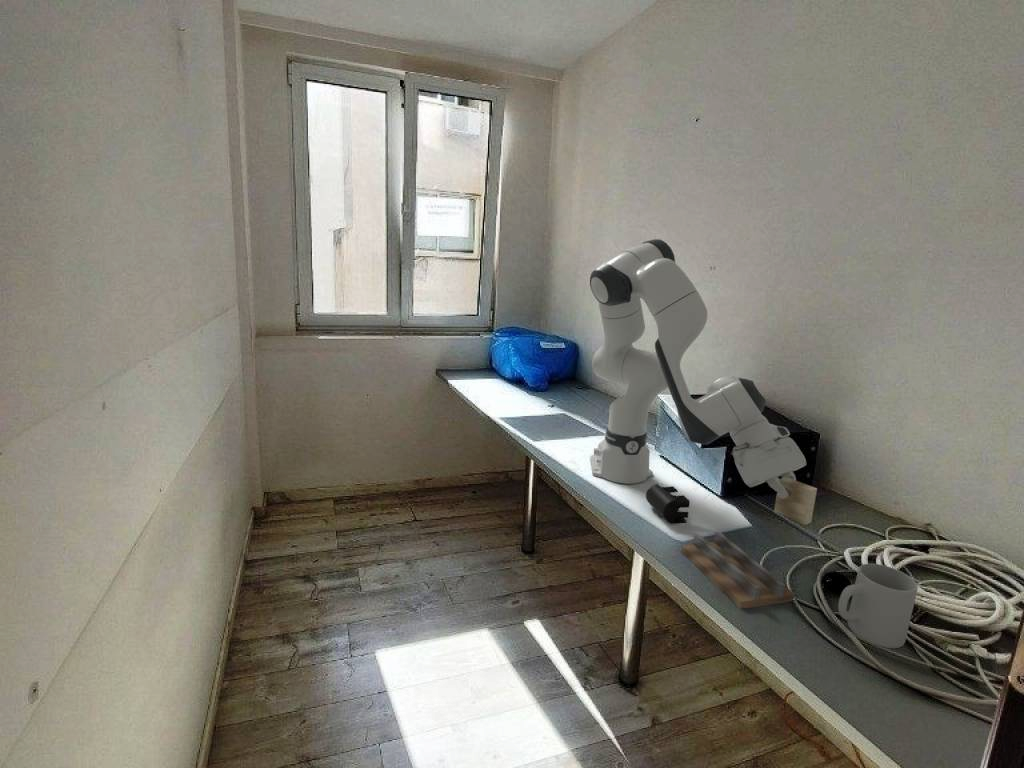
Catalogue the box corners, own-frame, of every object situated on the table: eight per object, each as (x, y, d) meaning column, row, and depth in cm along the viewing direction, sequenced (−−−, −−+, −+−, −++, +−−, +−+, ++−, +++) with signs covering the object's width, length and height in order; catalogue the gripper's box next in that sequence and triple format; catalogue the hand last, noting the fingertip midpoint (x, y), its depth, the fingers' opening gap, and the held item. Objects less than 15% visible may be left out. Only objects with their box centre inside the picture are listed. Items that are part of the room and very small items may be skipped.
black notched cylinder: (644, 507, 135) (646, 483, 134) (668, 506, 137) (671, 482, 135) (661, 526, 126) (664, 500, 124) (688, 524, 127) (691, 499, 125)
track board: (681, 551, 114) (683, 535, 113) (727, 546, 117) (729, 530, 116) (740, 608, 95) (743, 590, 94) (793, 600, 98) (797, 582, 97)
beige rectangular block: (774, 511, 116) (779, 478, 114) (779, 509, 117) (785, 476, 115) (805, 525, 110) (811, 490, 108) (811, 522, 111) (817, 488, 109)
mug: (878, 614, 95) (890, 562, 93) (917, 648, 87) (932, 591, 84) (818, 616, 94) (828, 563, 92) (852, 650, 86) (865, 593, 83)
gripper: (739, 441, 110) (777, 500, 105) (790, 426, 122) (826, 479, 116) (719, 454, 115) (753, 511, 110) (770, 438, 126) (803, 490, 121)
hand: (791, 495), depth 113 cm, fingers closed on beige rectangular block, 2 cm apart
